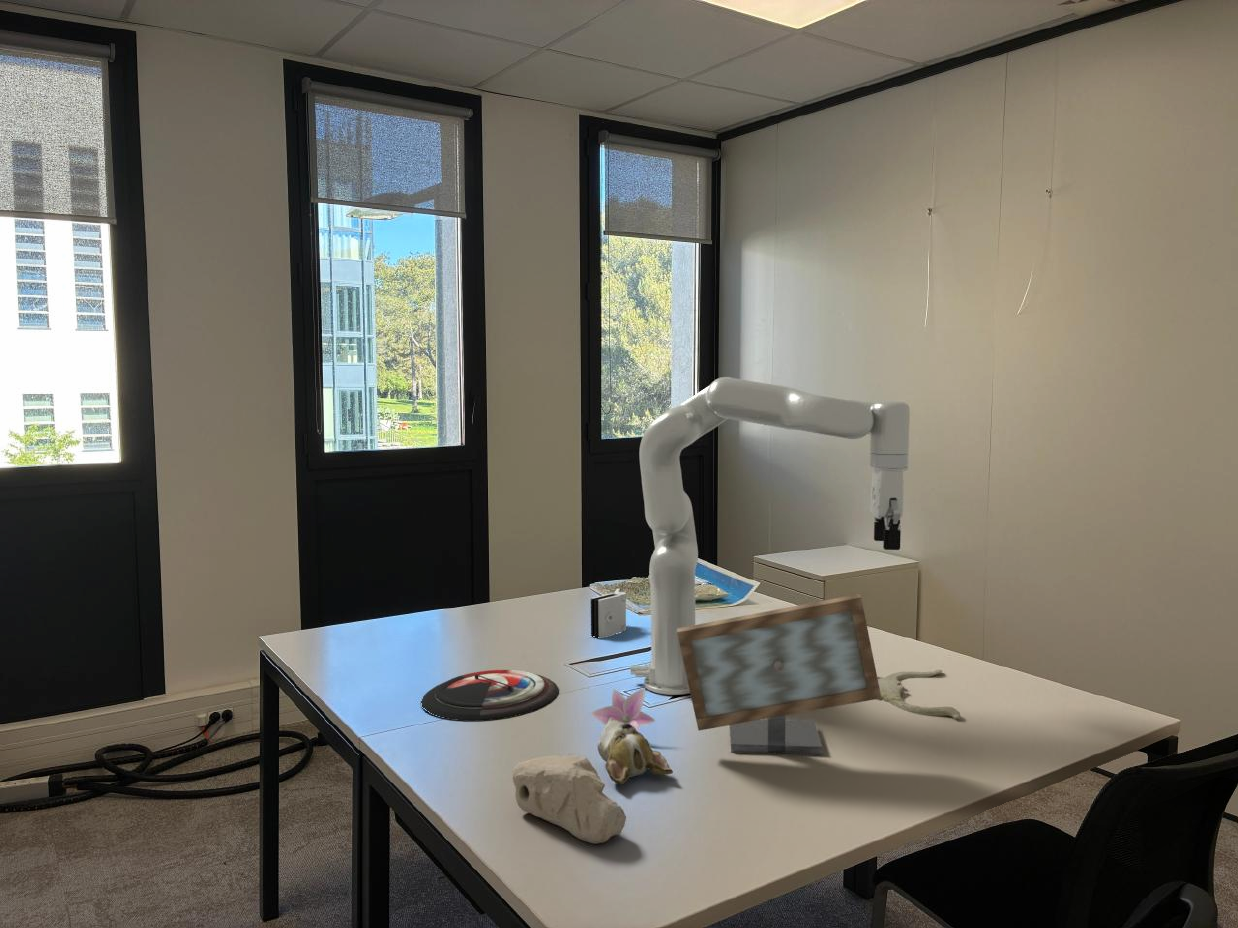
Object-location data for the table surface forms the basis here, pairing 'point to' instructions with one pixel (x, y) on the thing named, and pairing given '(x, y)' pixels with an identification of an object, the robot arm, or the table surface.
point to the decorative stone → (568, 796)
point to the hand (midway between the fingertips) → (886, 545)
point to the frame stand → (776, 737)
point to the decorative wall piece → (892, 694)
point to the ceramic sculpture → (628, 752)
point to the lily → (625, 710)
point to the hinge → (608, 614)
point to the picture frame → (779, 662)
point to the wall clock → (490, 695)
